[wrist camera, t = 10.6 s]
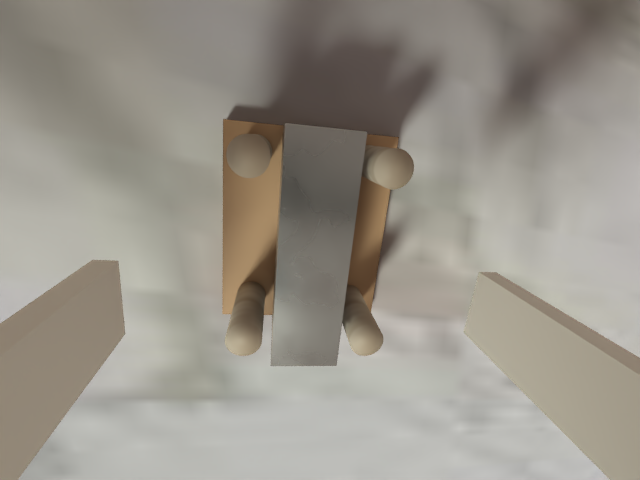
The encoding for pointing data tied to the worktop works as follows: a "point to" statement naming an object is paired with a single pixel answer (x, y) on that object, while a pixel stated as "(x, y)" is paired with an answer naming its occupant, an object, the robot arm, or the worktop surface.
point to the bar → (314, 241)
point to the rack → (261, 232)
